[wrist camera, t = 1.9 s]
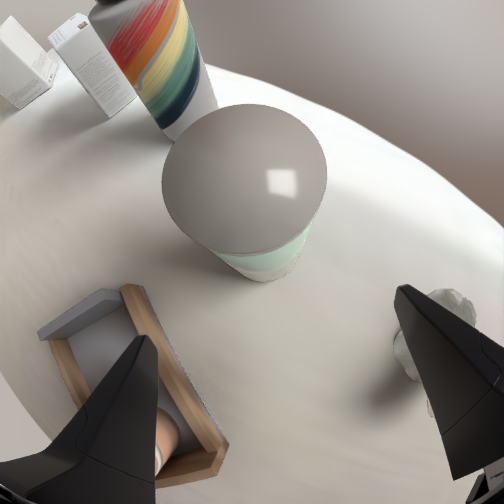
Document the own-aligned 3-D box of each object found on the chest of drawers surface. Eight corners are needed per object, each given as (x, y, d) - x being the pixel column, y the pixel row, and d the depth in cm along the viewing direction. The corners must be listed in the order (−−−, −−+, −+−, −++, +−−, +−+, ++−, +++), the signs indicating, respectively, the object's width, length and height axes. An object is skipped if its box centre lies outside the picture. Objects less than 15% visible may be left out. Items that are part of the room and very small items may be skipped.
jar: (192, 446, 19) (172, 476, 14) (147, 458, 19) (122, 484, 14) (161, 396, 20) (132, 416, 15) (117, 412, 20) (86, 430, 15)
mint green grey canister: (313, 259, 21) (359, 198, 8) (249, 295, 21) (203, 285, 8) (277, 199, 22) (271, 84, 9) (216, 233, 22) (142, 151, 9)
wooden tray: (229, 444, 19) (216, 475, 14) (135, 469, 19) (111, 493, 14) (142, 286, 22) (109, 281, 17) (63, 333, 22) (28, 336, 17)
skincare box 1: (59, 65, 30) (14, 12, 15) (51, 89, 29) (-4, 34, 14) (27, 88, 31) (-20, 43, 16) (18, 113, 30) (-36, 68, 14)
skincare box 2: (94, 99, 27) (43, 39, 15) (122, 76, 27) (78, 10, 15) (110, 121, 26) (50, 53, 14) (142, 95, 26) (92, 19, 14)
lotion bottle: (155, 120, 25) (51, -34, 5) (202, 90, 25) (136, -79, 5) (179, 156, 24) (54, -30, 4) (232, 122, 24) (169, -85, 4)
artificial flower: (493, 439, 17) (519, 487, 7) (372, 339, 23) (379, 383, 14) (542, 379, 15) (583, 412, 6) (431, 262, 22) (472, 263, 12)
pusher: (130, 300, 21) (104, 299, 17) (67, 338, 21) (40, 340, 17) (127, 291, 21) (100, 288, 17) (64, 330, 21) (37, 331, 17)
